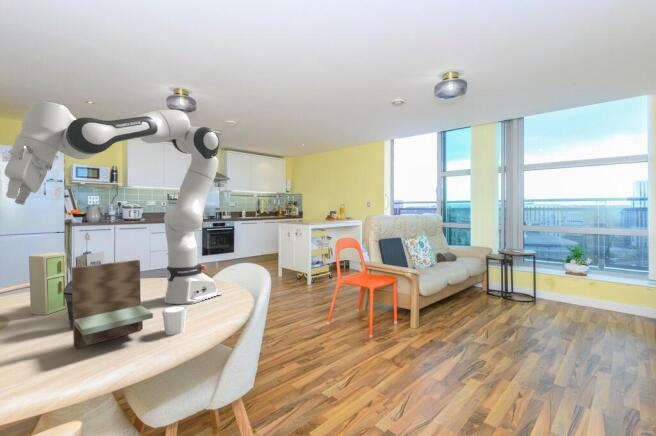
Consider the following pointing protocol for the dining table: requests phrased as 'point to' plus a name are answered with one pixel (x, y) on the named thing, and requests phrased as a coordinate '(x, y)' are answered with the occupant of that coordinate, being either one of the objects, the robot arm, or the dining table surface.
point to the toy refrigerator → (47, 282)
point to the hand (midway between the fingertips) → (15, 201)
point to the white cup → (174, 319)
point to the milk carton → (90, 259)
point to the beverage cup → (69, 302)
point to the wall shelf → (106, 302)
